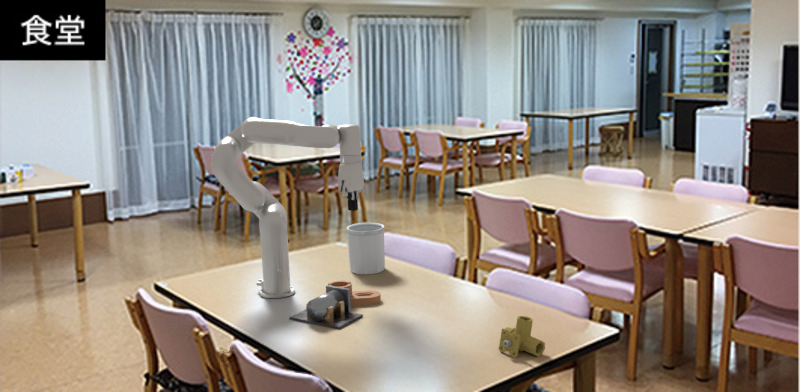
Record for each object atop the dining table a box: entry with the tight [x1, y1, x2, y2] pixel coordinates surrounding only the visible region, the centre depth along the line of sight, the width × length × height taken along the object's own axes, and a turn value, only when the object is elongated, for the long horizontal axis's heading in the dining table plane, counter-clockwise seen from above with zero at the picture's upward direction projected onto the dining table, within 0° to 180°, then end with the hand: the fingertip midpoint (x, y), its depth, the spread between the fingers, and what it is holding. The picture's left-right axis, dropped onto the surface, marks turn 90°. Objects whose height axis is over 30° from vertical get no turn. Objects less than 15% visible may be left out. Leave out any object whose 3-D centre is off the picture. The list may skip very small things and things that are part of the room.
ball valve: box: [498, 315, 546, 359], centre depth 225 cm, size 13×10×10 cm
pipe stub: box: [288, 284, 364, 330], centre depth 259 cm, size 20×14×8 cm
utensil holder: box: [346, 222, 386, 275], centre depth 313 cm, size 15×15×18 cm
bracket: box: [327, 280, 382, 307], centre depth 274 cm, size 18×8×7 cm, turn 96°
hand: (352, 210), depth 285 cm, fingers closed
